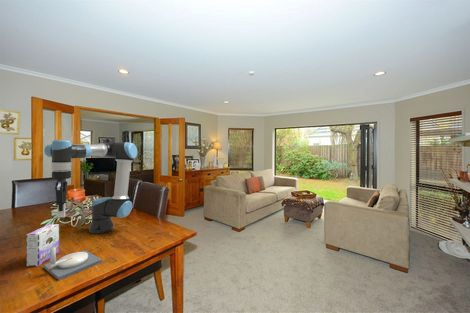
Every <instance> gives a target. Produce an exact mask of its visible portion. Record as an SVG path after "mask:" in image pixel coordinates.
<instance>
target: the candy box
mask: <svg viewBox="0 0 470 313" xmlns="http://www.w3.org/2000/svg"><path fill="white" fill-rule="evenodd" d="M53 247H56V255H57V254H59V253H60V224H59V223H58V224H57V223H56V224H55V223H54V224H52V223H51V224H46V225H44V226H42V227H41V228H38V229H36V230H34V231H32V232H29V233H26V247H25V248H26V251H25V252H26V256H25V257H26V259H25V260H26V267H39V266H41V265H42V264H43V263H46V262H47V261H48V260H50V248H53Z"/></svg>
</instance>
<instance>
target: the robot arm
mask: <svg viewBox="0 0 470 313" xmlns="http://www.w3.org/2000/svg"><path fill="white" fill-rule="evenodd" d="M43 151H44V155H45V156H47V157H48V158H51V179H52V180H56V182H55V187H54V190H55V200H56V201H55V202H56V203H55V206H57V219H58V218H65V217H66V204H68V201H67V193H68V181H67V180H68V179H71V178H72V171H71V169H72V166H73V163H72V159H87V158H89V157H92V156H98V157H101V158H102V157H103V158H104V157H105V158H113V159H114V160H115V161H116V162H117V166H116V171H115V172H116V174H115V183H114V191H113V196H112V197H111V196H110V197H109V196H107V197H106V196H105V197H100V198H96V199H95V198H94V200H92V202H91V221H90V224H89V228H88V233H90V234H92V235H97V234H105V233H108V232H111V231H112V230H114V228H115V227H114V222H113V220H112V218H125V217H128V216H129V215H130V213H131V211H132V209H133V202H132V201H130V197H129V195H128V193H129V192H128V191H129V185H130V184H129V183H130V173H131V172H130V171H131V163H133V162H134V159H137V156H138V148H137V146H136V145H135V143H132V142H127V141H126V142H122V141H121V142H120V141H119V142H116V141H113V142H111V141H110V142H104V143H103V142H99V143H97V144H87V143H86V144H85V143H84V144H83V143H81V144H80V143H79V144H77V143H76V144H73V143H72V141H71V140H66V139H64V140H63V139H54V140H52V142H51V143H49V144H47V145H46V146H45V147H44V150H43Z"/></svg>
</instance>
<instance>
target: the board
mask: <svg viewBox="0 0 470 313" xmlns="http://www.w3.org/2000/svg"><path fill="white" fill-rule="evenodd" d="M80 252H86V253H88V260H87V261H86V262H85V263H83V264H81V265H79V266H76V267H72V268H59V267H58V265H56V266H54V267H50V262H48V263H47V262H46V263H45V264H43V268H44V269H45V271H46V272H48V273H49V274H51V275H52V276H53V277H54V278H55V279H56V280H58V281H61V280H63V279H66V278H68V277H70V276H73V275H75V274H78V273H80V272H83V271H84V270H86V269H87V270H88V269H89V268H91V267H94V266H96V265H98V264H101V263H102V261H103V259H102V258H100V257H99V256H96V255H95V254H93V253H91V252H89V251H88V250H85V249H84V250H82V251H80ZM58 260H59V259H56V262H57V261H58Z"/></svg>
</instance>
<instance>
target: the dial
mask: <svg viewBox="0 0 470 313" xmlns="http://www.w3.org/2000/svg"><path fill="white" fill-rule="evenodd" d="M56 256H57V254H56V247H53V248H50V259H49V263H50V267H54V266H56V265H58V267H59V268H72V267H76V266H79V265H81V264H83V263H85V262H86V261H87V260H88V253H86V252H81V251H77V252H72V253H69V254H66V255H64V256H62V257H60V258H59V259H57V257H56ZM56 260H58V261H57V262H56Z"/></svg>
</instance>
